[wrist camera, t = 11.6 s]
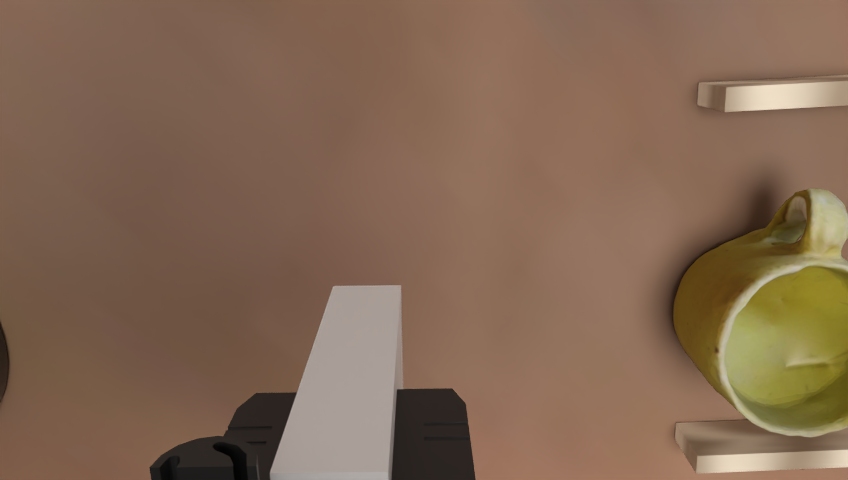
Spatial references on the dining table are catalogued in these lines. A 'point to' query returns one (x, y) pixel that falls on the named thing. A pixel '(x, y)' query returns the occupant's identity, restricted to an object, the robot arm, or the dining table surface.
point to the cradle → (742, 439)
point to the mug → (775, 318)
